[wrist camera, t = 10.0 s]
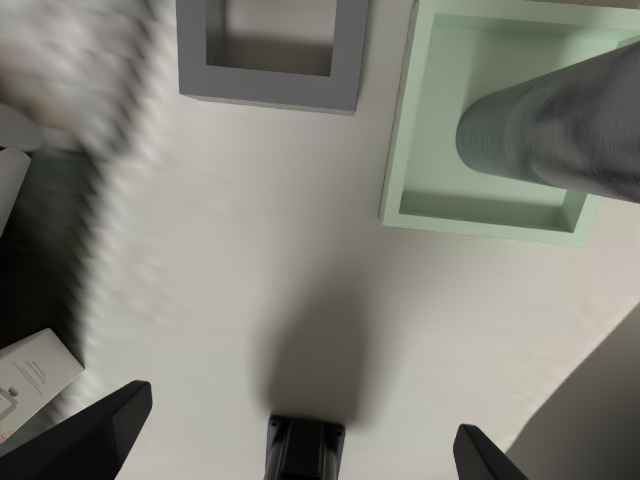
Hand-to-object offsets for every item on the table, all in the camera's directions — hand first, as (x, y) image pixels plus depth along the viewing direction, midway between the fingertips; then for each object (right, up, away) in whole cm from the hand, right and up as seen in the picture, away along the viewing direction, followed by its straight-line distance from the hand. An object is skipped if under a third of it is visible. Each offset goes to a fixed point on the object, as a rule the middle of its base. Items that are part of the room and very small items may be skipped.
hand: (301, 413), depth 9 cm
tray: (+11, +11, +9) cm, 18 cm away
